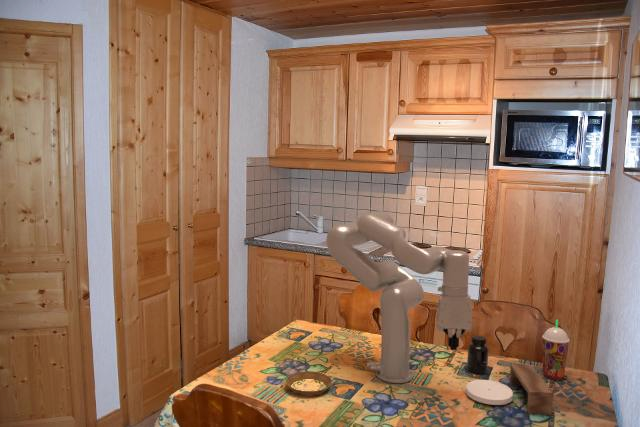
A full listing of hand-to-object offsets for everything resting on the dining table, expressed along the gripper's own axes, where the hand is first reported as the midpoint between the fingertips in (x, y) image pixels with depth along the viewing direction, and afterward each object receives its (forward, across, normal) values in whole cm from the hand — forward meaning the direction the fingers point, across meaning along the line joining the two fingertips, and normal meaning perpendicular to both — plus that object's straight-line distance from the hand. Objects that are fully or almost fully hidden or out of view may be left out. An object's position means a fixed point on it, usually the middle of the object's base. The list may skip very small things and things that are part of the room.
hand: (453, 348), depth 162 cm
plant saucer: (+15, -45, 0) cm, 47 cm away
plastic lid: (+16, +12, 0) cm, 19 cm away
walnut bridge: (+15, +23, 0) cm, 28 cm away
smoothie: (+15, +37, +17) cm, 44 cm away
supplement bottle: (+15, +12, +19) cm, 27 cm away
